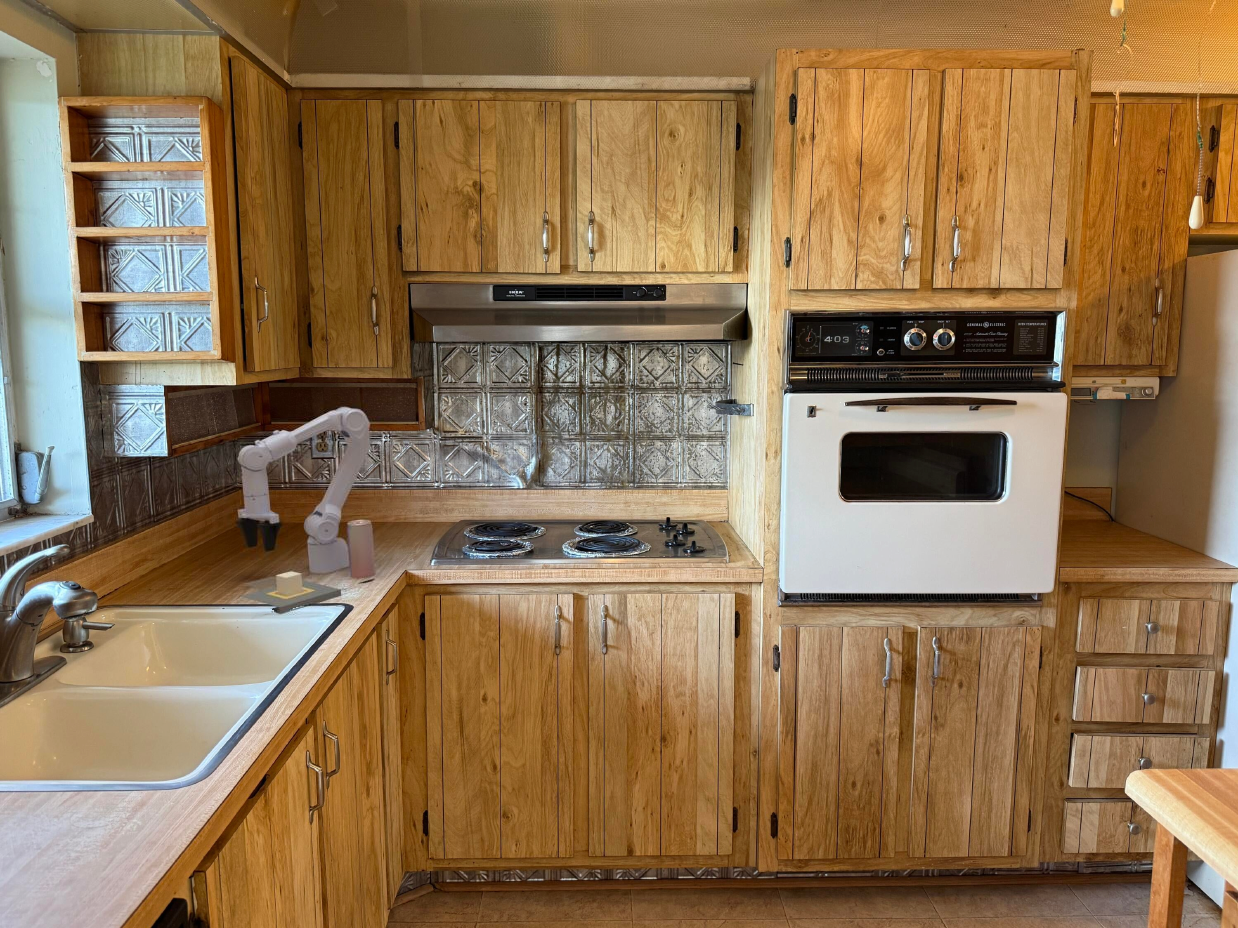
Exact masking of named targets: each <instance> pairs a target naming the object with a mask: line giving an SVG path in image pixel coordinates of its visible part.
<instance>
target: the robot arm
mask: <svg viewBox="0 0 1238 928" xmlns="http://www.w3.org/2000/svg"><path fill="white" fill-rule="evenodd" d="M370 426H371V423H370V420H369V418H368V416H367V415H366V413H364V411H362V409H359V408H351V407H348V406H340V407H339V408H337V409H334V410H330V411H328V412H327V413H324V414H322V415H320V416H318V417H317V418H315V419H312V420H311V421H308V422H306V423H305V424H303V425H301V426H300V427H298V428H296V429H294V430H292V431H288V430H285V429H284V430H281V431H280V430H274V431H272V435H270V436H268V437H266V438H264V439H262V440H259V439H257V440H255V441H254V443H255V445H253V444H252V445H251V444H250V445H246V446H244V447H242V448H241V450H240V451H239V453H238V457H237V461H238V463H239V464H240V466H241V473H242V475H241V476H242V477H241V478H242V479H241V481H242V492H243V501H244V502H243V503H244V508H243V509H242V508H241V509H237V515H238V518H240V519H237V520H235V524H236V525H237V526H238V528H239V529H240V531H241V533H242V535H243V539H244V540H245V542H246V543H245V544H246V545H247V547H248V548H249V549H250V548H255V547H257V546H258V538H259V537H258V534H259V533H260V535H261V538H262V543H263V548H264V551H265V552H267V553H268V552H272V551H275V549H276V543H277V538H278V534H279V531H280V529H281V528H282V525H283V522H282V521H280V516H279V514H278V513H276V512H273V511H272V510H271V504H270V503H271V502H270V493H269V492H270V491H269V480H268V473H267V466H268V465H269V463H272V462H274V461H276V460H279V459H280V458H282V457H284V456H286V455H288V454H290V453H293V452H294V451H295V450H296V448H297V445H298V443H299V444H300V443H302V442H303V441H306V440H308V439H311V438H312V437H315V436H317V435H320V434H321V433H324V432H326V431H337V432H339V433H340V434H341V435H342V436H343V438H344V440H345V444H346V447H347V448H346V449H345V452H344V454H343V456H342V458H341V460H340V463H339V465H337V469H336V471H335V474H334V475H333V477H332V478H331V482H330V484H329V485H328V488H327V489H326V492H325V494H324V496H323V498H322V500H321V502H320V503H319V504H317V505H316V507H315V508H314V511H313V512H312V513H311V514H309V515H308V516H307V517H306V519H305V521H304V524H303V528H304V530H305V532H306V534H307V535H308V539H306V540H307V552H308V553H307V554H308V563H309V564H308V567H309V573H311V574H327V573H328V574H329V573H332V572H336V571H339V570H342V569H345V568H350V561H349V547H348V543H347V542H346V540H345V539H344V538H342V537H338V534H339V525H340V522H341V520H342V508H343V506H344V504H345V502H346V500H347V498H348V495H349V494H350V491H351V489H352V488H353V485H354V483H355V481H356V479H357V477H358V475H359V472H360V470H361V468H362V466H363V464H364V462H365V460H366V458H367V456H368V453H369V451H370V448H371V438H370ZM260 522H262V523H260ZM258 532H259V533H258Z"/></svg>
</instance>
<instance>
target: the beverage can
mask: <svg viewBox="0 0 1238 928" xmlns="http://www.w3.org/2000/svg"><path fill="white" fill-rule="evenodd" d="M346 531H347V546H348V555H349V572H350V573H349V575H350V578H351V579H367V578H371V577H374V576H375V575H376V563H375V550H374V534H373V525H372V521H371V520H370V519H357V520H351V521H348V522H347V527H346ZM374 580H376V579H375V578H371V579H368V580H364V581H361V582H358V584H360V585H361V584H367V583H371V582H374Z"/></svg>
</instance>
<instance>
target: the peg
mask: <svg viewBox="0 0 1238 928" xmlns="http://www.w3.org/2000/svg"><path fill="white" fill-rule="evenodd" d="M275 577H276V580H277V585H276V586H277V592H278V593H277V594H278V595H282V596H286V597H289V596H292V595H296V594H299V593H303V592H304V591H303V589H302V580H303V579H302V577H303V576H302V573H300V572H296V571H288V572H282V573H281V574H276V575H275Z"/></svg>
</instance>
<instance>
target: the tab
mask: <svg viewBox="0 0 1238 928" xmlns="http://www.w3.org/2000/svg"><path fill="white" fill-rule="evenodd" d="M243 585H244V586H248V587H252V588H255V589H259V590H264V589H268V588H272V587H275V586H277V580H276V576H268V577H265V578H260V579H256V580H252V581H250V582H246V583H243Z"/></svg>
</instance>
